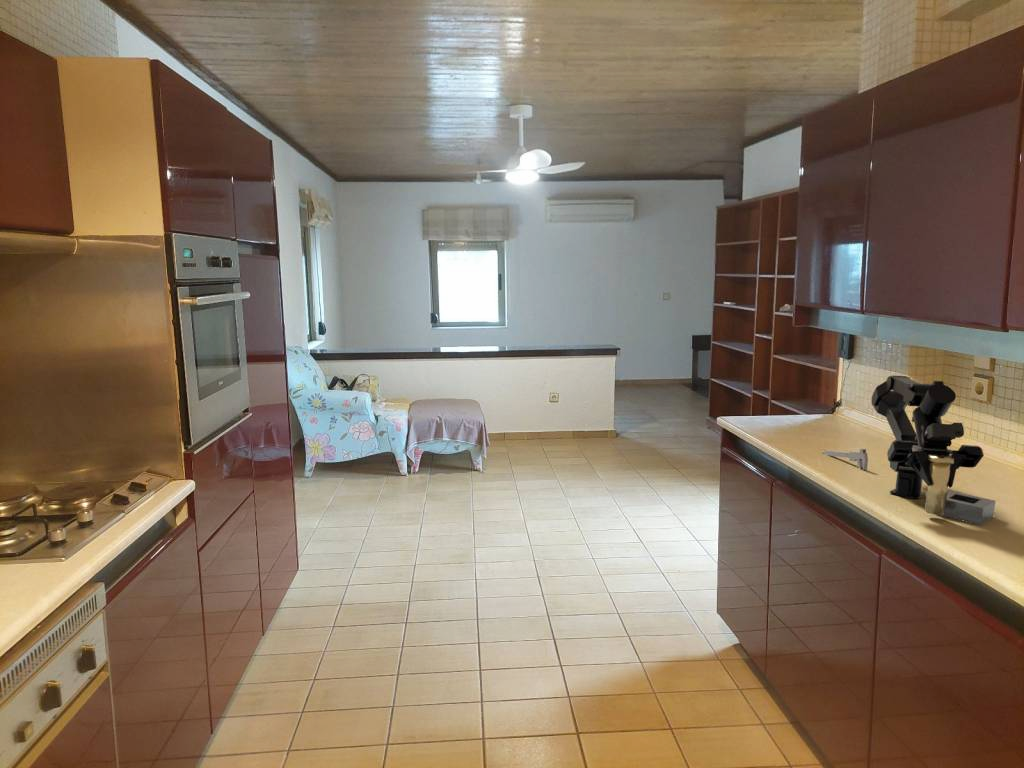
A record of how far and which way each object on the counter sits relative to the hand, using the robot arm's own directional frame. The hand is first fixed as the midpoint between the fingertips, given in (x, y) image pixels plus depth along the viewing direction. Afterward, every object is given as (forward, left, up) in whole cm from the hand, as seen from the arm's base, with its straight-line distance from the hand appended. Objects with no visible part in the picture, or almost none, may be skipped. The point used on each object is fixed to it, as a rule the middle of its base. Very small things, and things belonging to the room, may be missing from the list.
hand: (940, 485), depth 163 cm
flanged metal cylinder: (-1, -1, -7) cm, 7 cm away
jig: (-9, +3, -8) cm, 13 cm away
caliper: (-36, -37, -9) cm, 52 cm away
